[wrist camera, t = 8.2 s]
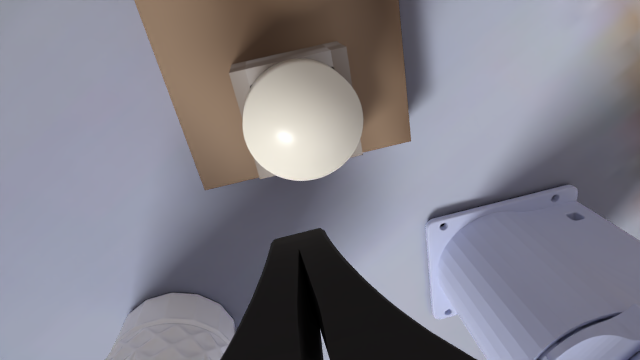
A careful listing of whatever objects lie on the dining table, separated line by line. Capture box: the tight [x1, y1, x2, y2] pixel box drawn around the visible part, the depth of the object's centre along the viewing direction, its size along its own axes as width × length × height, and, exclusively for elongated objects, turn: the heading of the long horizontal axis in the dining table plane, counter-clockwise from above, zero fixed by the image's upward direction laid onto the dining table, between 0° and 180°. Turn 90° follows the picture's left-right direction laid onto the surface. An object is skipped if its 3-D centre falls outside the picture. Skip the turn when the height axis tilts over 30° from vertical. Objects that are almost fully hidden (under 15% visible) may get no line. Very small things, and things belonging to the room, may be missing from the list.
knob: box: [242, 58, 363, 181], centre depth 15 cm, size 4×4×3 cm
